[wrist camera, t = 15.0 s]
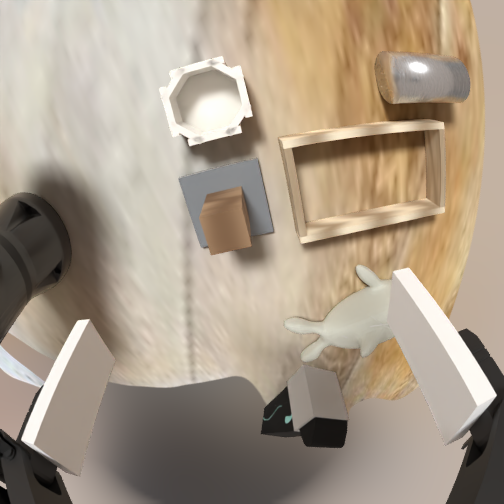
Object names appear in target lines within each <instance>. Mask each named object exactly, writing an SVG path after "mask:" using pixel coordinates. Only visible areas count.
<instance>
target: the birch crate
mask: <svg viewBox="0 0 504 504" xmlns="http://www.w3.org/2000/svg"><path fill="white" fill-rule="evenodd" d="M420 130H424V135H425V150H426V180H427V196H426V198H425V199H420V200H414V201H409V202H404V203H399V204H394V205H389V206H384V207H379V208H374V209H369V210H364V211H359V212H354V213H349V214H344V215H339V216H334V217H329V218H325V219H320V220H315V221H310V222H306V223H305V220H304V214H303V207H302V202H301V196H300V190H299V184H298V179H297V173H296V168H295V163H294V157H293V152H292V147H297V146H303V145H309V144H314V143H320V142H326V141H333V140H339V139H346V138H353V137H361V136H369V135H377V134H386V133H396V132H407V131H420ZM278 141H279V145H280V150H281V155H282V160H283V165H284V170H285V175H286V180H287V185H288V190H289V195H290V201H291V206H292V212H293V217H294V223H295V229H296V232H297V235H298V237H299V240H300V242H301V244H303V243H307V242H312V241H316V240H321V239H326V238H330V237H335V236H339V235H344V234H349V233H353V232H358V231H362V230H367V229H372V228H376V227H381V226H385V225H390V224H395V223H399V222H404V221H408V220H413V219H417V218H422V217H426V216H431V215H436V214H440V213H445V195H446V151H445V131H444V122H440V121H436V120H431V119H415V120H400V121H388V122H377V123H367V124H359V125H350V126H343V127H335V128H329V129H322V130H316V131H309V132H304V133H298V134H292V135H287V136H282V137H278Z"/></svg>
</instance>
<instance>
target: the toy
mask: <svg viewBox="0 0 504 504" xmlns="http://www.w3.org/2000/svg"><path fill="white" fill-rule="evenodd" d="M356 272H357V275H358V276H359V278H360V279H361V280H362V281H363V282H364V283H366V284H367V285H369V286H367V287H365V288H363V289H361V290H359V291H357V292H355V293H353V294H351V295H350V296H348V297H346V298H345V299H344V300H342V301H341V302H340V303H338V304H337V305H336V306H335V307H334V308H333V309H332V310H331V311H330V312H329V313H328V315H327V316H326V318H325V319H324V320H323V321H321V322H312V321H308V320H305V319H302V318H298V317H292V318H288V319H286V320H285V321H284V326H285V328H286V329H287V330H289V331H291V332H294V333H297V334H309V333H316V334H318V335H320V337H319V339H318V340H317V341H316V342H314V343H312V344H311V345H309V346H308V347H307V348H306V349H304V351H303V352H302V353H301V356H300V358H301V361H303V362H311V361H314V360H315V359H317V358H318V357H319V355H320V353H321V352H322V350H323V349H324V348H326V347H328V346H330V345H332V346H336V347H340V348H348V349H357V348H360V354H361V357H363V358H364V357H367V356H368V355H370V354H371V353H372V352H373V350H374V349H375V348H376V346H377V345H378V344H379V343H382V342H385V341H387V340H389V339H392V338H394V337H395V336H394V334H393V332H392V330H391V329H390V327H389V325H388V323H387V315H388V308H389V300H390V292H391V284H392V280H380V279H379V278H378V277H377V275H376V274H375V273H374V272H373V271H372V270H370V269H369V268H367V267H366V266H363V265H357V266H356Z"/></svg>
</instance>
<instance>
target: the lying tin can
mask: <svg viewBox="0 0 504 504" xmlns="http://www.w3.org/2000/svg"><path fill="white" fill-rule="evenodd" d="M375 75H376V81H377V85H378V88H379V91H380V93H381V95H382V96H383V98H384V99H385V100H386V101H387V102H388V103H390V104H399V103H461V102H464V101H465V100H466V99H467V97H468V95H469V92H470V78H469V74H468V71H467V69H466V67H465V66H464V64H463V63H462V62H461V61H460V60H459V59H458V58H456V57H453V56H445V55H436V54H426V53H412V52H385V51H384V52H380V53H379V54H378V56H377V58H376V61H375Z"/></svg>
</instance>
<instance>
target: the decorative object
mask: <svg viewBox="0 0 504 504" xmlns="http://www.w3.org/2000/svg"><path fill="white" fill-rule="evenodd" d="M348 420H349V417H348V413H347V410H346V406H345V403H344V399H343V396H342V392H341V389H340V385H339V382H338V378H337V375H336V372H333V371H328V370H324V369H320V368H316V367H312V366H308V365H304V364H303V365H302V366H301V367H300V368H299V369H298V371H297V372H296V373H295V374H294V375H293V376H292V377H291V378H290V379H289V380H288V381H287V387H286V388H285V389H284V390H283V391H282V392H281V393H280V394H279V395H278V396H277V397H275V398H274V399H273V400H272V401H271V402H270V403H269V404H268V405H267V406H266V407H265V408H264V416H263V424H262V431H261V434H265V435H273V436H280V437H295V436H302V439H303V442H304V444H305V445H306V446H307V447H327V448H342V447H343V446H344V443H345V438H346V433H347V421H348Z"/></svg>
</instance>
